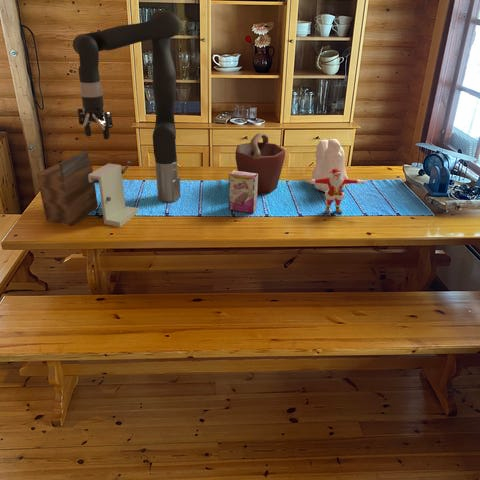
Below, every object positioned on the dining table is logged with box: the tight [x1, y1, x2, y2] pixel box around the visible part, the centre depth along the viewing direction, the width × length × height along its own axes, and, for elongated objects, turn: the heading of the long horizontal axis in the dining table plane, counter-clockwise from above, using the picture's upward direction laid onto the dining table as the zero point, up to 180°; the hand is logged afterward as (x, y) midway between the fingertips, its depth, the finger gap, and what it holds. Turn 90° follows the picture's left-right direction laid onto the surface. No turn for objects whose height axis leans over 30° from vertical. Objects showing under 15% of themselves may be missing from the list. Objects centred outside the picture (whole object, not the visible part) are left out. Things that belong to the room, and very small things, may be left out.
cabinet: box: [36, 150, 99, 227], centre depth 191 cm, size 12×18×25 cm, turn 161°
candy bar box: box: [228, 169, 258, 214], centre depth 199 cm, size 11×5×16 cm, turn 71°
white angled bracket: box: [88, 162, 139, 227], centre depth 190 cm, size 12×14×20 cm
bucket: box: [235, 133, 286, 195], centre depth 219 cm, size 24×22×25 cm
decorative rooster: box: [311, 138, 349, 192], centre depth 221 cm, size 25×16×25 cm, turn 2°
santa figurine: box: [304, 169, 367, 214], centre depth 198 cm, size 25×6×19 cm, turn 90°
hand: (97, 137), depth 183 cm, fingers open, 8 cm apart
